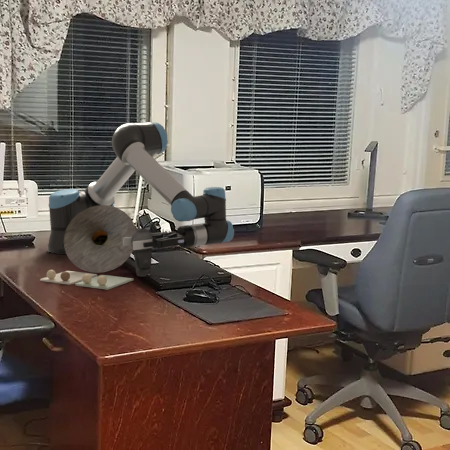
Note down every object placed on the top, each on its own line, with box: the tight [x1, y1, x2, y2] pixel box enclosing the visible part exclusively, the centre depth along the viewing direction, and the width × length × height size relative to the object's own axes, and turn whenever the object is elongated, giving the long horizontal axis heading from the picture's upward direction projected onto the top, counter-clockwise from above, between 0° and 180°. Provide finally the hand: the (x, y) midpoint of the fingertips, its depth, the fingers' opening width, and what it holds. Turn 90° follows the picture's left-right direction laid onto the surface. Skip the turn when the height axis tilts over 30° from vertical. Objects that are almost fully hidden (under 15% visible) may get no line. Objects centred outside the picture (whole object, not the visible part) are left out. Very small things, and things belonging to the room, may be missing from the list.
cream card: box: [39, 269, 98, 286], centre depth 243 cm, size 13×13×4 cm
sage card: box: [74, 274, 134, 291], centre depth 235 cm, size 13×13×4 cm
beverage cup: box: [131, 214, 153, 277], centre depth 243 cm, size 7×7×20 cm
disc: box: [64, 205, 137, 274], centre depth 260 cm, size 25×18×25 cm
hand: (128, 243), depth 241 cm, fingers open, 8 cm apart
